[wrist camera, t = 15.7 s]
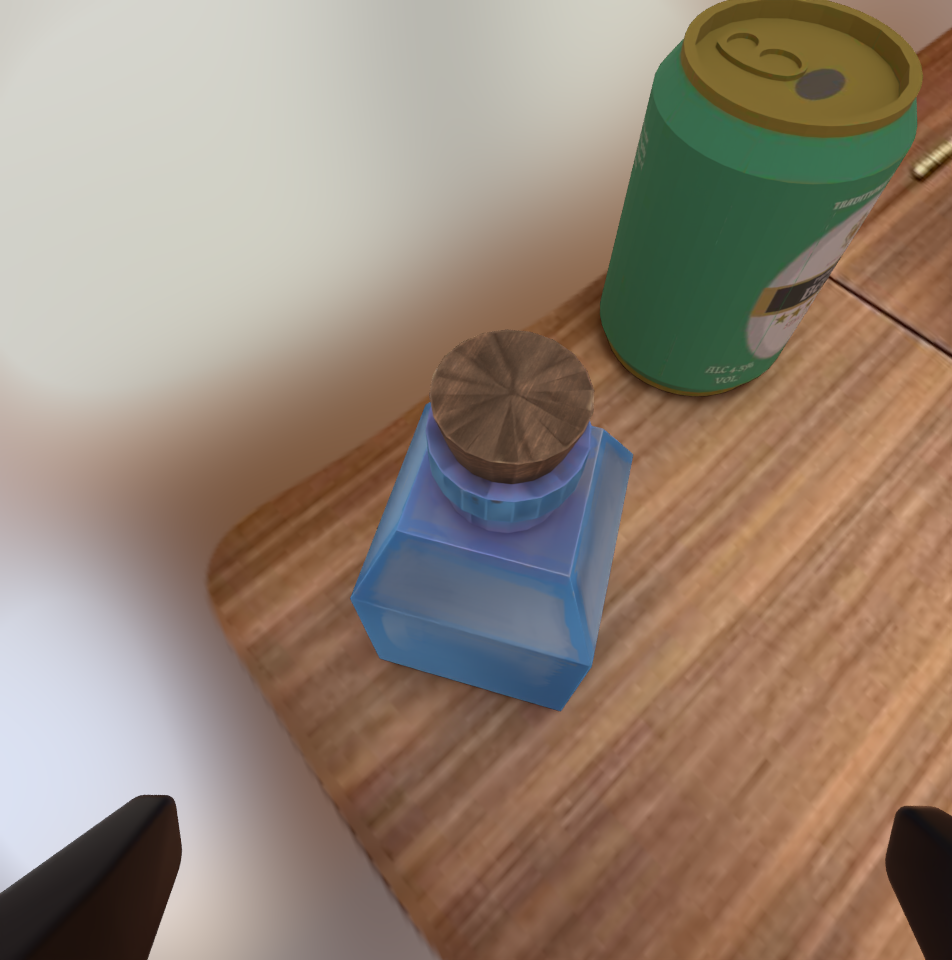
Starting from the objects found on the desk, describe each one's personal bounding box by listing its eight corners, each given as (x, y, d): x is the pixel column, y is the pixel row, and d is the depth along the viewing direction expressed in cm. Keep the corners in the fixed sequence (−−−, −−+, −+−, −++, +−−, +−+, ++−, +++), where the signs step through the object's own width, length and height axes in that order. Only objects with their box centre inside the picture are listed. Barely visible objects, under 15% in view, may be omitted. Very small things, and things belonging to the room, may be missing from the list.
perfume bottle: (435, 499, 25) (409, 250, 14) (596, 541, 24) (693, 310, 14) (379, 658, 22) (296, 491, 12) (560, 711, 21) (648, 583, 11)
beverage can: (703, 438, 27) (851, 181, 17) (559, 330, 30) (607, 51, 19) (809, 334, 30) (994, 57, 19) (668, 244, 33) (763, -42, 22)
